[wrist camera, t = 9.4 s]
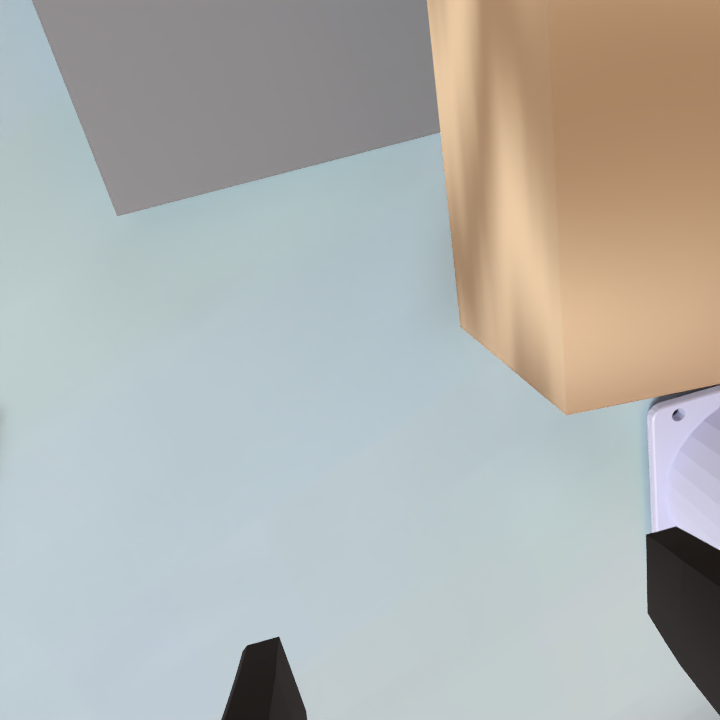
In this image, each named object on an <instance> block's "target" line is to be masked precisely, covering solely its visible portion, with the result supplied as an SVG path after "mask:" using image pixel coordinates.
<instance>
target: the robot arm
mask: <svg viewBox="0 0 720 720" xmlns="http://www.w3.org/2000/svg"><path fill="white" fill-rule="evenodd" d="M677 409H678V412H677V413H676V414H675V415H673V416H672V414H673V412H674V411H675V410H677ZM647 427H648V450H649V474H650V498H651V522H652V533H650V534H647V535H646V549H647V603H648V614H649V616H650V618H651V619H652V621H653V623H654V624H655V626H656V628H657V629H658V631H659V632H660V634H661V636H662V637H663V639H664V641H665V642H666V644H667V645H668V647H669V648H670V650H671V651H672V653H673V655H674V656H675V658H676V659H677V661H678V662H679V664H680V665H681V667H682V668H683V669H684V671H685V672H686V673H687V674H688V676H689V677H690V678H691V680H692V681H693V682H694V683H695V685H696V686H697V687H698V689H699V690H700V691H701V692H702V694H703V695H704V696H705V697H706V699H707V700H708V701H709V703H710V704H711V705H712V706H713V708H714V709H715V710H716V711H717V713H718V714H719V715H720V385H718V386H715V387H711V388H708V389H704V390H701V391H698V392H694V393H691V394H687V395H684V396H680V397H677V398H673V399H670V400H666V401H663V402H660V403H657V404H655V405H654V406H653V407H652V408H651V409H650V410H649V412H648V416H647ZM221 720H307V715H306V710H305V707H304V704H303V701H302V698H301V696H300V693H299V690H298V687H297V685H296V682H295V679H294V676H293V674H292V671H291V668H290V665H289V663H288V660H287V657H286V654H285V652H284V649H283V646H282V643H281V641H280V638H279V637H276V638H273V639H269V640H265V641H262V642H258V643H255V644H251V645H247V646H246V648H245V649H244V651H243V652H242V656H241V660H240V663H239V667H238V670H237V673H236V677H235V680H234V683H233V686H232V690H231V693H230V696H229V699H228V702H227V705H226V708H225V711H224V714H223V717H222V719H221Z"/></svg>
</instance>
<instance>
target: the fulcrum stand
mask: <svg viewBox="0 0 720 720" xmlns="http://www.w3.org/2000/svg"><path fill="white" fill-rule="evenodd" d="M32 1H33V4H34V6H35V9H36V11H37V14H38V17H39V19H40V22H41V24H42V27H43V29H44V32H45V34H46V37H47V39H48V42H49V44H50V47H51V49H52V52H53V54H54V57H55V60H56V62H57V65H58V67H59V70H60V72H61V75H62V77H63V80H64V82H65V85H66V87H67V90H68V92H69V95H70V97H71V100H72V103H73V105H74V108H75V110H76V113H77V115H78V118H79V120H80V123H81V125H82V128H83V130H84V133H85V135H86V138H87V140H88V143H89V146H90V148H91V151H92V153H93V156H94V158H95V161H96V163H97V166H98V168H99V171H100V173H101V176H102V178H103V181H104V183H105V186H106V189H107V191H108V194H109V196H110V199H111V201H112V204H113V206H114V209H115V211H116V214H117V216H120V215H124V214H128V213H131V212H135V211H139V210H143V209H147V208H151V207H155V206H158V205H162V204H166V203H170V202H174V201H178V200H181V199H185V198H189V197H193V196H197V195H201V194H205V193H208V192H212V191H216V190H220V189H224V188H228V187H232V186H235V185H239V184H243V183H247V182H251V181H255V180H258V179H262V178H266V177H270V176H274V175H278V174H282V173H285V172H289V171H293V170H297V169H301V168H305V167H308V166H312V165H316V164H320V163H324V162H328V161H332V160H335V159H339V158H343V157H347V156H351V155H355V154H359V153H362V152H366V151H370V150H374V149H378V148H382V147H385V146H389V145H393V144H397V143H401V142H405V141H409V140H412V139H416V138H420V137H424V136H428V135H432V134H436V133H439V132H440V123H439V113H438V103H437V94H436V84H435V75H434V65H433V55H432V46H431V36H430V26H429V17H428V7H427V0H32Z"/></svg>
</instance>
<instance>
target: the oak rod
mask: <svg viewBox="0 0 720 720" xmlns="http://www.w3.org/2000/svg"><path fill="white" fill-rule="evenodd" d="M427 7H428V17H429V26H430V36H431V46H432V55H433V65H434V75H435V84H436V94H437V103H438V113H439V123H440V132H441V142H442V152H443V161H444V171H445V180H446V190H447V200H448V209H449V219H450V229H451V238H452V248H453V258H454V267H455V277H456V286H457V296H458V306H459V315H460V325H461V328H463V329H464V330H465V331H466V332H467V333H469V334H470V335H471V336H472V337H473V338H475V339H476V340H477V341H478V342H479V343H481V344H482V345H483V346H484V347H485V348H487V349H488V350H489V351H490V352H491V353H493V354H494V355H495V356H496V357H497V358H499V359H500V360H501V361H502V362H503V363H505V364H506V365H507V366H508V367H509V368H511V369H512V370H513V371H514V372H515V373H517V374H518V375H519V376H520V377H521V378H523V379H524V380H525V381H526V382H527V383H529V384H530V385H531V386H532V387H533V388H535V389H536V390H537V391H538V392H539V393H541V394H542V395H543V396H544V397H545V398H547V399H548V400H549V401H550V402H551V403H553V404H554V405H555V406H556V407H557V408H559V409H560V410H561V411H562V412H563V413H565V414H566V415H570V414H575V413H580V412H585V411H590V410H594V409H599V408H604V407H609V406H614V405H619V404H624V403H629V402H634V401H639V400H643V399H648V398H653V397H658V396H663V395H668V394H673V393H678V392H683V391H687V390H692V389H697V388H702V387H707V386H712V385H717V384H720V0H427Z"/></svg>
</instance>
